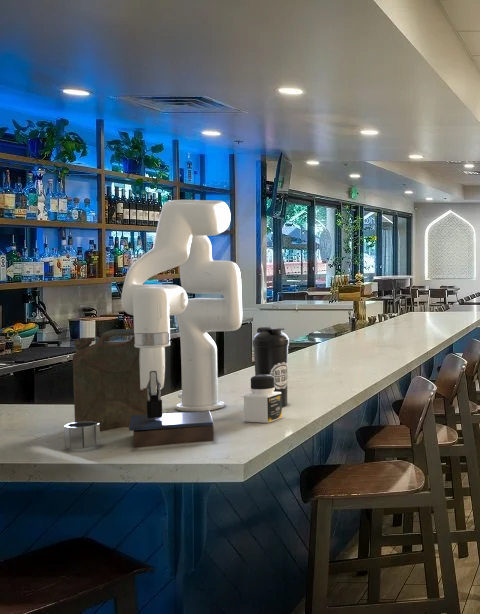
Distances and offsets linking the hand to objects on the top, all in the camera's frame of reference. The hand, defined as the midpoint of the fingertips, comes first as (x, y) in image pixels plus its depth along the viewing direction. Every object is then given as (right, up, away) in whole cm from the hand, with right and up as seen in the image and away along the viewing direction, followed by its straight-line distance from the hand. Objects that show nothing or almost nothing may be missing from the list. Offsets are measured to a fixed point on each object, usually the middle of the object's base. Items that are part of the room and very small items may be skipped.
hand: (154, 417), depth 185 cm
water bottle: (+12, -3, +46) cm, 47 cm away
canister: (-17, -5, +16) cm, 24 cm away
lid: (+3, -1, +1) cm, 4 cm away
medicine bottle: (+17, -5, +26) cm, 31 cm away
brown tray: (+4, -6, +2) cm, 7 cm away
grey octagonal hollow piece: (-14, -6, -6) cm, 16 cm away
